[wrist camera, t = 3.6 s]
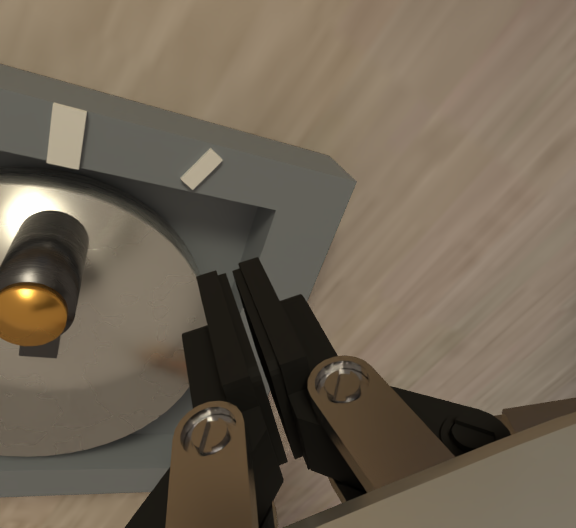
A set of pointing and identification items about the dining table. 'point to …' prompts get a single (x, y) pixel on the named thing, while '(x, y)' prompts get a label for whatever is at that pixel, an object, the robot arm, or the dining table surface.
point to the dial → (87, 312)
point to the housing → (182, 218)
